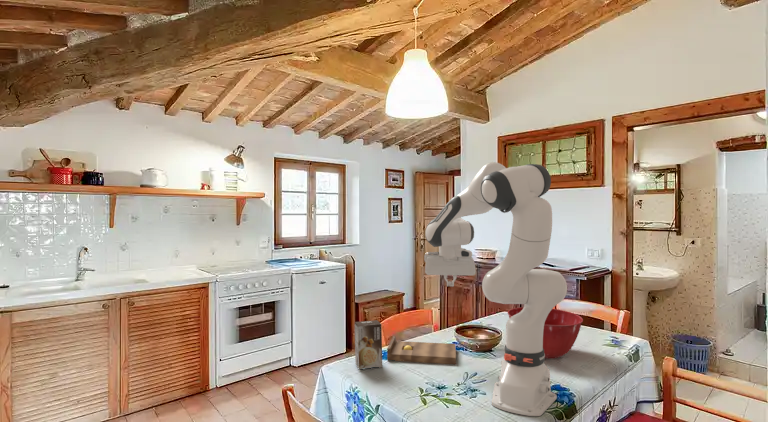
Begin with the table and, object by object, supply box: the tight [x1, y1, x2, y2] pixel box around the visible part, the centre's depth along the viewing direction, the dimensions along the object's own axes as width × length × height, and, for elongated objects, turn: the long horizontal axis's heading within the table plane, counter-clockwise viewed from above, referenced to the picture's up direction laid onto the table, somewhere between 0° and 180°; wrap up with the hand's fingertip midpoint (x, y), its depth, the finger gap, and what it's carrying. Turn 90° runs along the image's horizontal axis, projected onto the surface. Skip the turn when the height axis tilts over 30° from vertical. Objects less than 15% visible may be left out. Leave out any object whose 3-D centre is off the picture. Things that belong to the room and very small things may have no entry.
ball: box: [404, 345, 412, 350], centre depth 163 cm, size 4×4×4 cm
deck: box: [386, 335, 457, 365], centre depth 162 cm, size 26×16×4 cm, turn 80°
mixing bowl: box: [507, 306, 584, 360], centre depth 164 cm, size 28×28×16 cm
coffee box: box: [354, 320, 383, 370], centre depth 151 cm, size 9×6×16 cm
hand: (450, 286), depth 164 cm, fingers closed
